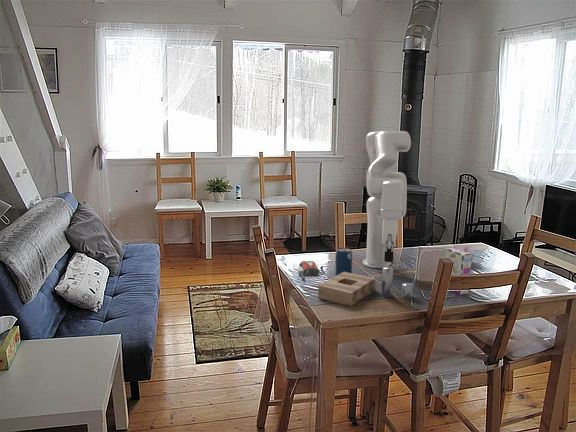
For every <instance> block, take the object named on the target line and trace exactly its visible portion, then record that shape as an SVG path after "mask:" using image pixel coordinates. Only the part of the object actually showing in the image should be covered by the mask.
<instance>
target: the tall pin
mask: <svg viewBox="0 0 576 432" xmlns="http://www.w3.org/2000/svg"><path fill="white" fill-rule="evenodd" d="M393 281H394V267H393V266H385V267H383V268H382V276H381V296H382V297H384V298H390V297H391V298H392V296H393V283H394V282H393Z"/></svg>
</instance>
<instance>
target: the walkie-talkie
mask: <svg viewBox="0 0 576 432" xmlns="http://www.w3.org/2000/svg"><path fill="white" fill-rule="evenodd" d="M298 266H299V267H297V273H298V275H299V276H300V277H301V279H302V280H304V281H305V279H306V278H305V276H318V275H319V274H320V273H319V272H320V271H319V270H320V269H319V268H318V265H317V264H316V262H315V261H313V260H303V261H300V263H299V265H298Z"/></svg>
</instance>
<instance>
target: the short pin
mask: <svg viewBox="0 0 576 432" xmlns="http://www.w3.org/2000/svg"><path fill="white" fill-rule="evenodd" d="M413 288H414V284H413V283H411V282H402V283H401V297H402V298H403V299H407V300H409V299H413Z"/></svg>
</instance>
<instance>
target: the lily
mask: <svg viewBox="0 0 576 432" xmlns="http://www.w3.org/2000/svg"><path fill="white" fill-rule="evenodd" d="M471 247H472V245H470V246H469V247H468V244H467V245H466V246H465V247H464V249H462V250H463V251H466V252H469V250H470V249H471Z"/></svg>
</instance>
